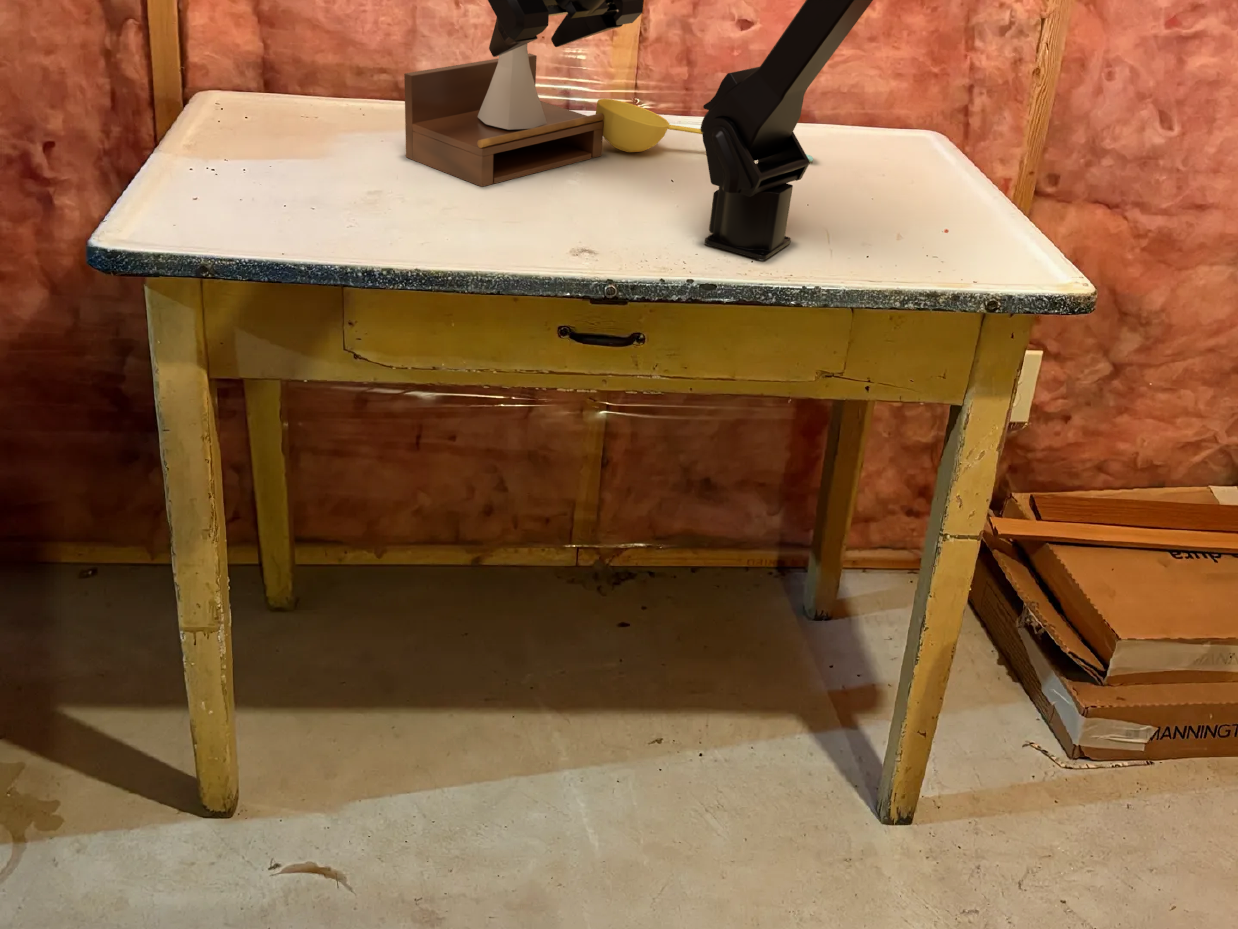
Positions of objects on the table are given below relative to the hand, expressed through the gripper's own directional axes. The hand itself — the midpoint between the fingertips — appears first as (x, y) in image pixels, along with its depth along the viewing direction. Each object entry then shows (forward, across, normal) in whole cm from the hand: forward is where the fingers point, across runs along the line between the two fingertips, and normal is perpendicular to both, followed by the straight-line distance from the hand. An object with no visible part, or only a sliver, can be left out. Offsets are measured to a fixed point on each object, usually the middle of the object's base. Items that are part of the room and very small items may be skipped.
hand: (523, 47), depth 121 cm
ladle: (+1, -20, +16) cm, 26 cm away
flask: (+7, 0, +5) cm, 9 cm away
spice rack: (+10, 0, +7) cm, 12 cm away
